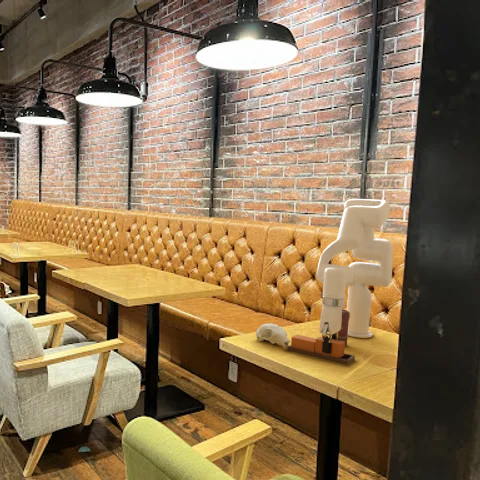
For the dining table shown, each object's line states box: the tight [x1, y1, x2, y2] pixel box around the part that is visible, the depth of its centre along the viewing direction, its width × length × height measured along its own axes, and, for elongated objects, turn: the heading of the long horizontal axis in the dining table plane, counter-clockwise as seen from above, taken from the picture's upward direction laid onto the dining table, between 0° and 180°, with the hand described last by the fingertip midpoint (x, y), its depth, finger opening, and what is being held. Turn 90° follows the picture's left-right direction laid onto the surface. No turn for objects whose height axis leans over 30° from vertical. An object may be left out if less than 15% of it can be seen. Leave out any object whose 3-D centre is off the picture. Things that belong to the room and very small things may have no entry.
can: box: [338, 309, 350, 347], centre depth 193 cm, size 6×6×14 cm
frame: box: [286, 344, 356, 366], centre depth 179 cm, size 8×22×2 cm, turn 51°
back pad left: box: [290, 334, 317, 353], centre depth 182 cm, size 5×9×5 cm, turn 51°
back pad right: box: [315, 336, 346, 358], centre depth 176 cm, size 5×9×5 cm, turn 51°
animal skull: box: [255, 322, 291, 350], centre depth 190 cm, size 10×16×10 cm, turn 16°
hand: (329, 350), depth 176 cm, fingers closed on back pad right, 5 cm apart
